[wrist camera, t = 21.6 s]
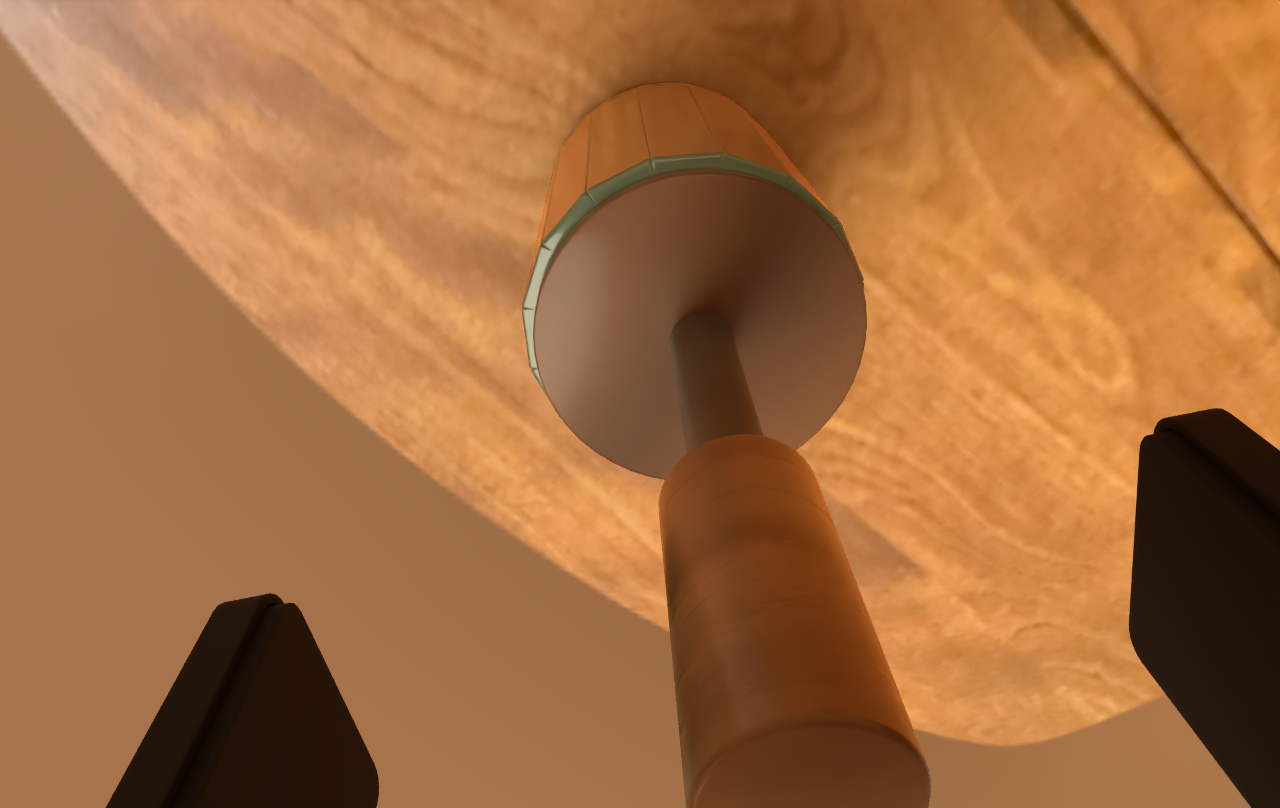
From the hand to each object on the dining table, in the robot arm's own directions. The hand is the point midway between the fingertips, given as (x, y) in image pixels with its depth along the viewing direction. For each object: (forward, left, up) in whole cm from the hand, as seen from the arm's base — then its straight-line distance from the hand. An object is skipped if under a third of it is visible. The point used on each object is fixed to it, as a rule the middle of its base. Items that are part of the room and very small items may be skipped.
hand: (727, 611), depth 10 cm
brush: (+1, 0, -17) cm, 17 cm away
